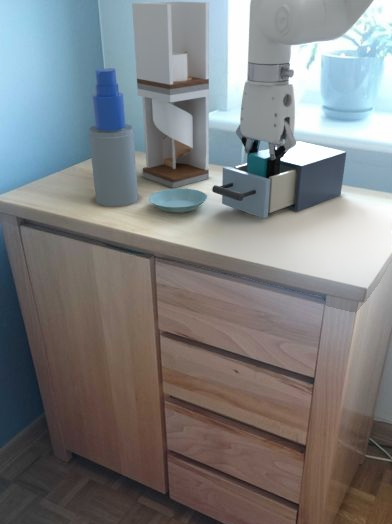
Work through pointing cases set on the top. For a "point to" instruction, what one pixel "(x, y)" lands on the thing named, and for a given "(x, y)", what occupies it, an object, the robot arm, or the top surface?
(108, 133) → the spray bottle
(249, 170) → the cube
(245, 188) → the drawer
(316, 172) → the mini chest of drawers
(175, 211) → the saucer
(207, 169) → the spiral staircase model
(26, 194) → the top surface
